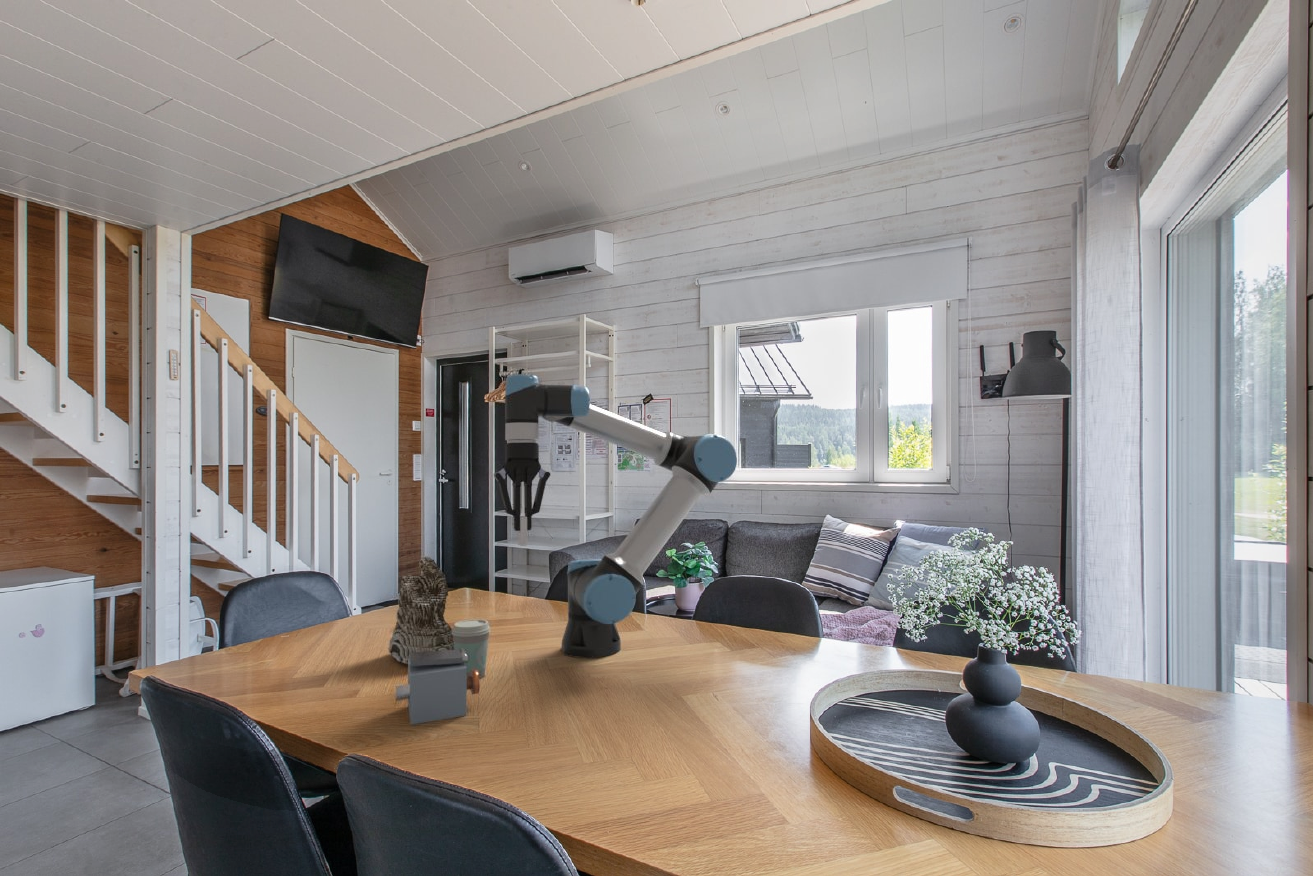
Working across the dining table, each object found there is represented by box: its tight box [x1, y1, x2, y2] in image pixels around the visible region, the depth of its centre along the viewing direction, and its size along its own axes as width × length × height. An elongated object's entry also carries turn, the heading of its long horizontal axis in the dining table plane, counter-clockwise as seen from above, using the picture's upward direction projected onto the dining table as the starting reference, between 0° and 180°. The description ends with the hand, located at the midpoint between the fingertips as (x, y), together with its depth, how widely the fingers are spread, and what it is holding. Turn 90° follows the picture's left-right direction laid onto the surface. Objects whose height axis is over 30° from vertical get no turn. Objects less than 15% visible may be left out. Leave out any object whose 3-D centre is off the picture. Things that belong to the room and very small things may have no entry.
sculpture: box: [388, 555, 455, 665], centre depth 161 cm, size 20×14×25 cm
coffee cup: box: [452, 618, 492, 680], centre depth 147 cm, size 8×8×12 cm
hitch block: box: [407, 661, 468, 725], centre depth 127 cm, size 10×10×9 cm
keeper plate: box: [409, 648, 469, 666], centre depth 127 cm, size 11×6×1 cm, turn 114°
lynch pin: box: [395, 669, 481, 701], centre depth 127 cm, size 15×5×5 cm, turn 114°
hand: (522, 544), depth 148 cm, fingers closed
